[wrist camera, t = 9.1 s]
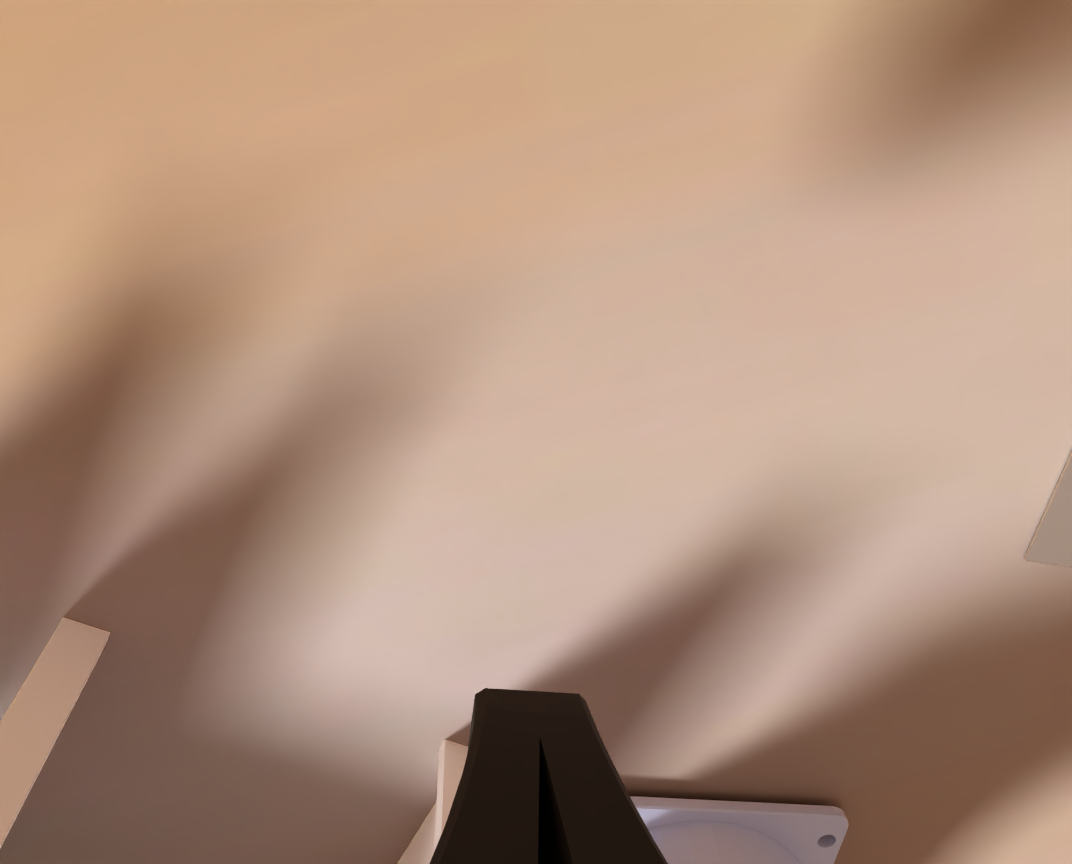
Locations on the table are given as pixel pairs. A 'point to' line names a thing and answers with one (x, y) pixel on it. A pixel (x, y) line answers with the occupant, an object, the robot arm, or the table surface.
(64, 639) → the storage container
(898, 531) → the table surface
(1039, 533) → the ramp plate
